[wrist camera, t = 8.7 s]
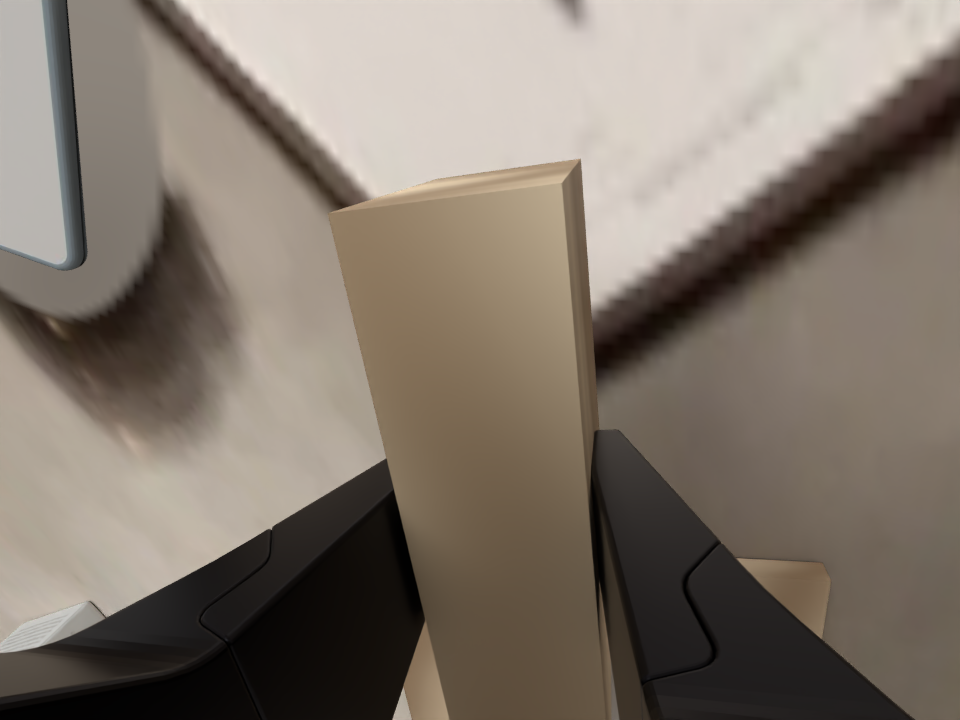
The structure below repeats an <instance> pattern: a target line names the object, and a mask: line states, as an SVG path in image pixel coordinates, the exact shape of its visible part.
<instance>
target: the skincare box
mask: <svg viewBox="0 0 960 720" xmlns="http://www.w3.org/2000/svg"><path fill="white" fill-rule="evenodd" d="M103 619H105V617H104V616H103V615H102V614H101V613H100V611H99V610H98V609H97V608H96V607H95V606H94V605H93V604H92V603H90V602H88V601H86V602H84V603H81V604H78V605H75V606H72V607H69V608H66V609H64V610H61V611H58V612H55V613H52V614H49V615H46V616H43V617H40V618H37V619H34V620H31V621H28V622H25V623H23V624H22V625H21V626H20V627H18V628H17V629H16V630H15V631H14V632H13V633H12V634H11V635H9V636H8V637H7V638H6V639H5V640H4V641H3V642H1V643H0V653H6V652H15V651H21V650H26V649H31V648H36V647H39V646H42V645H46V644H49V643H53V642H55V641H58V640H61V639H63V638H66V637H69V636H71V635H73V634H75V633H77V632H79V631H82V630H84V629H86V628H88V627H90V626H92V625H94V624H95V623H97V622H99V621H101V620H103Z"/></svg>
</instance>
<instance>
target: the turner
mask: <svg viewBox="0 0 960 720" xmlns="http://www.w3.org/2000/svg"><path fill="white" fill-rule="evenodd" d="M328 217H329V221H330V225H331V229H332V233H333V237H334V242H335V246H336V250H337V254H338V258H339V262H340V267H341V271H342V275H343V279H344V283H345V287H346V291H347V296H348V300H349V304H350V308H351V312H352V316H353V321H354V325H355V329H356V333H357V337H358V341H359V346H360V350H361V354H362V358H363V362H364V366H365V371H366V375H367V379H368V383H369V387H370V391H371V396H372V400H373V404H374V408H375V412H376V416H377V420H378V425H379V429H380V433H381V437H382V441H383V445H384V450H385V454H386V458H387V462H388V466H389V470H390V475H391V479H392V483H393V487H394V491H395V495H396V500H397V504H398V508H399V512H400V516H401V520H402V525H403V529H404V533H405V537H406V541H407V545H408V550H409V554H410V558H411V562H412V566H413V570H414V574H415V579H416V583H417V587H418V591H419V595H420V599H421V604H422V608H423V612H424V616H425V620H426V624H427V629H428V633H429V637H430V641H431V645H432V649H433V654H434V658H435V662H436V666H437V670H438V674H439V679H440V683H441V687H442V691H443V695H444V699H445V703H446V708H447V712H448V716H449V720H619V714H618V707H617V700H616V693H615V686H614V679H613V672H612V665H611V658H610V651H609V644H608V637H607V630H606V623H605V616H604V609H603V602H602V595H601V588H600V581H599V569H598V556H597V543H596V531H595V518H594V505H593V493H592V480H591V464H592V452H593V441H594V431H596V430H599V418H598V403H597V388H596V374H595V359H594V345H593V330H592V316H591V301H590V287H589V272H588V258H587V243H586V229H585V214H584V200H583V185H582V171H581V159H576V160H569V161H562V162H555V163H548V164H540V165H533V166H526V167H519V168H512V169H505V170H498V171H491V172H483V173H476V174H469V175H462V176H455V177H448V178H441V179H436V180H432V181H429V182H426V183H423V184H420V185H417V186H413V187H410V188H407V189H404V190H401V191H397V192H394V193H391V194H388V195H385V196H382V197H378V198H375V199H372V200H369V201H366V202H362V203H359V204H356V205H353V206H350V207H347V208H343V209H340V210H337V211H334V212H331V213H328Z"/></svg>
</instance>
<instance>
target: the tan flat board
mask: <svg viewBox="0 0 960 720" xmlns="http://www.w3.org/2000/svg"><path fill="white" fill-rule="evenodd" d="M736 559H737V560H738V561H739V562H740V563H741V564H742V565H743V566H744V567H745V568H746V569H747V570H748V571H749V572H750V573H751V574H752V575H753V576H754V577H755V578H756V579H757V580H758V582H759V583H760V584H761V585H762V586H763V587H764V588H765V589H766V590H767V591H769V592H770V593H771V594H772V595H773V596H774V597H775V598H776V599H777V600H778V601H779V602H781V603H782V604H783V605H784V606H785V607H786V608H787V609H788V610H789V611H790V612H791V613H793V614H794V615H795V616H796V617H797V618H798V619H799V620H800V621H801V622H803V623H804V624H805V625H806V626H807V627H808V628H809V629H811V630H812V631H813V632H814V633H815V634H816V635H817V636H819V637H820V638H821V639H822V634H823V628H824V622H825V616H826V610H827V604H828V598H829V592H830V586H831V580H830V578H829V576H828V573H827V571H826V569H825V567H824V565H823V563H817V562H798V561H780V560H761V559H743V558H736ZM404 690H405V694H406V698H407V702H408V706H409V710H410V713H411V717H412V720H449V716H448V712H447V708H446V703H445V699H444V695H443V691H442V687H441V683H440V679H439V674H438V670H437V666H436V662H435V658H434V654H433V649H432V645H431V641H430V637H429V633H428V629H427V624H426V620H425V623H424V626H423V629H422V632H421V635H420V638H419V641H418V644H417V647H416V650H415V653H414V656H413V659H412V662H411V665H410V668H409V671H408V674H407V677H406V680H405V683H404Z"/></svg>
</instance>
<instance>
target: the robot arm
mask: <svg viewBox="0 0 960 720" xmlns="http://www.w3.org/2000/svg"><path fill="white" fill-rule="evenodd" d="M591 480H592V493H593V505H594V518H595V531H596V543H597V556H598V569H599V581H600V588H601V595H602V602H603V609H604V616H605V623H606V630H607V637H608V644H609V651H610V658H611V665H612V672H613V679H614V686H615V693H616V700H617V707H618V714H619V720H915V719H914V718H912V717H911V716H910V715H909V714H907V713H906V712H905V711H904V710H903V709H901V708H900V707H899V706H898V705H897V704H895V703H894V702H893V701H892V700H891V699H890V698H888V697H887V696H886V695H885V694H884V693H883V692H882V691H880V690H879V689H878V688H877V687H876V686H875V685H874V684H872V683H871V682H870V681H869V680H868V679H867V678H866V677H864V676H863V675H862V674H861V673H860V672H859V671H858V670H856V669H855V668H854V667H853V666H852V665H851V664H850V663H848V662H847V661H846V660H845V659H844V658H843V657H842V656H840V655H839V654H838V653H837V652H836V651H835V650H833V649H832V648H831V647H830V646H829V645H828V644H827V643H825V642H824V641H823V640H822V639H821V638H820V637H819V636H817V635H816V634H815V633H814V632H813V631H812V630H811V629H809V628H808V627H807V626H806V625H805V624H804V623H803V622H801V621H800V620H799V619H798V618H797V617H796V616H795V615H794V614H793V613H791V612H790V611H789V610H788V609H787V608H786V607H785V606H784V605H783V604H782V603H781V602H779V601H778V600H777V599H776V598H775V597H774V596H773V595H772V594H771V593H770V592H769V591H767V590H766V589H765V588H764V587H763V586H762V585H761V584H760V583H759V582H758V580H757V579H756V578H755V577H754V576H753V575H752V574H751V573H750V572H749V571H748V570H747V569H746V568H745V567H744V566H743V565H742V564H741V563H740V562H739V561H738V560H737V559H736V558H735V557H734V555H733V554H732V553H731V552H730V551H729V550H728V549H727V548H726V547H725V546H724V545H723V544H721V542H720V540H719V539H718V538H717V537H716V536H715V535H714V534H713V533H712V531H711V530H710V529H709V528H708V527H707V526H706V525H705V524H704V523H703V522H702V521H701V519H700V518H699V517H698V516H697V515H696V514H695V513H694V512H693V511H692V510H691V508H690V507H689V506H688V505H687V504H686V503H685V502H684V501H683V500H682V499H681V497H680V496H679V495H678V494H677V493H676V492H675V491H674V490H673V489H672V488H671V486H670V485H669V484H668V483H667V482H666V481H665V480H664V479H663V478H662V477H661V475H660V474H659V473H658V472H657V471H656V470H655V469H654V468H653V467H652V466H651V465H650V463H649V462H648V461H647V460H646V459H645V458H644V457H643V456H642V455H641V454H640V452H639V451H638V450H637V449H636V448H635V447H634V446H633V445H632V444H631V443H630V441H629V440H628V439H627V438H626V437H625V436H624V435H623V434H622V433H621V432H620V431H619V430H596V431H594V441H593V452H592V464H591ZM424 623H425V616H424V612H423V608H422V604H421V599H420V595H419V591H418V587H417V583H416V579H415V574H414V570H413V566H412V562H411V558H410V554H409V550H408V545H407V541H406V537H405V533H404V529H403V525H402V520H401V516H400V512H399V508H398V504H397V500H396V495H395V491H394V487H393V483H392V479H391V475H390V470H389V466H388V462H387V458H386V459H385V460H383V461H381V462H380V463H378V464H376V465H375V466H373V467H371V468H370V469H368V470H366V471H365V472H363V473H361V474H360V475H358V476H356V477H355V478H353V479H351V480H350V481H348V482H346V483H345V484H343V485H341V486H340V487H338V488H336V489H335V490H333V491H331V492H329V493H328V494H326V495H324V496H323V497H321V498H319V499H318V500H316V501H314V502H313V503H311V504H309V505H308V506H306V507H304V508H303V509H301V510H299V511H298V512H296V513H294V514H293V515H291V516H289V517H288V518H286V519H284V520H283V521H281V522H279V523H278V524H276V525H274V526H273V528H272V530H271V529H268V530H266V531H264V532H263V533H261V534H259V535H258V536H256V537H254V538H253V539H251V540H249V541H248V542H246V543H244V544H242V545H241V546H239V547H237V548H236V549H234V550H232V551H230V552H229V553H227V554H225V555H223V556H222V557H220V558H218V559H217V560H215V561H213V562H211V563H209V564H207V565H205V566H204V567H202V568H200V569H198V570H196V571H194V572H192V573H191V574H189V575H187V576H185V577H183V578H181V579H179V580H178V581H176V582H174V583H172V584H170V585H168V586H166V587H164V588H162V589H160V590H158V591H157V592H155V593H153V594H151V595H149V596H147V597H145V598H143V599H141V600H139V601H137V602H136V603H134V604H132V605H130V606H128V607H126V608H124V609H122V610H120V611H118V612H116V613H115V614H113V615H111V616H109V617H107V618H105V619H103V620H101V621H99V622H97V623H95V624H94V625H92V626H90V627H88V628H86V629H84V630H82V631H79V632H77V633H75V634H73V635H71V636H69V637H66V638H63V639H61V640H58V641H55V642H53V643H49V644H46V645H42V646H39V647H36V648H31V649H26V650H21V651H15V652H6V653H0V720H392V719H393V716H394V713H395V710H396V707H397V704H398V701H399V698H400V695H401V692H402V689H403V686H404V683H405V680H406V677H407V674H408V671H409V668H410V665H411V662H412V659H413V656H414V653H415V650H416V647H417V644H418V641H419V638H420V635H421V632H422V629H423V626H424Z"/></svg>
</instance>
